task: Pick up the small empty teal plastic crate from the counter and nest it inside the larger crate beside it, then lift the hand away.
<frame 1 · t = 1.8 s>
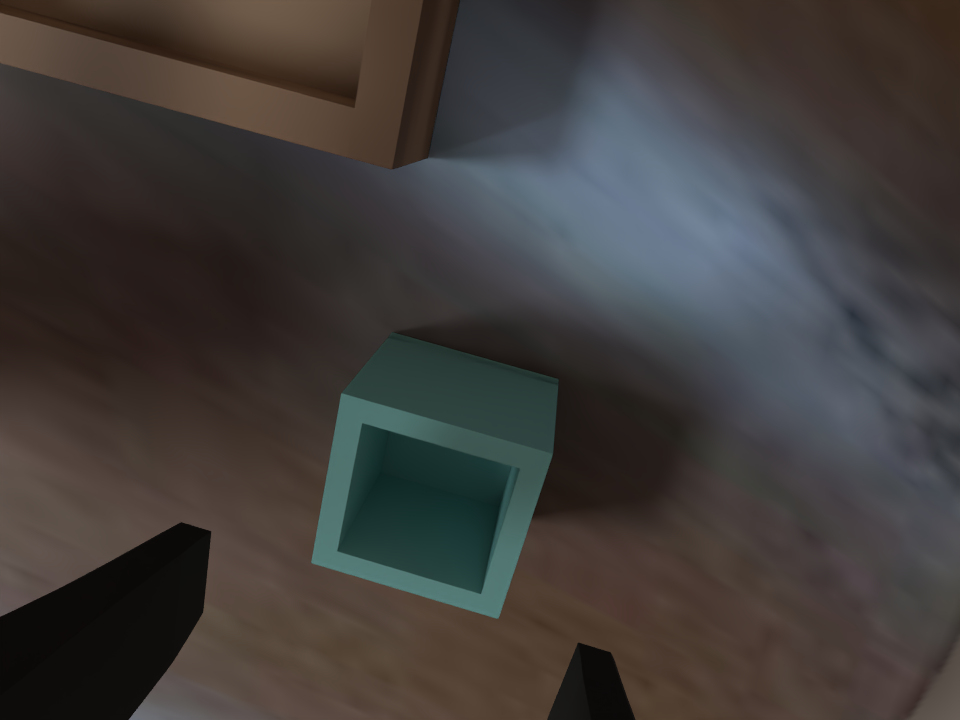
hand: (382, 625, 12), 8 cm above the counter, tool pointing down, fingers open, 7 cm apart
small crate: (456, 427, 20), on the counter
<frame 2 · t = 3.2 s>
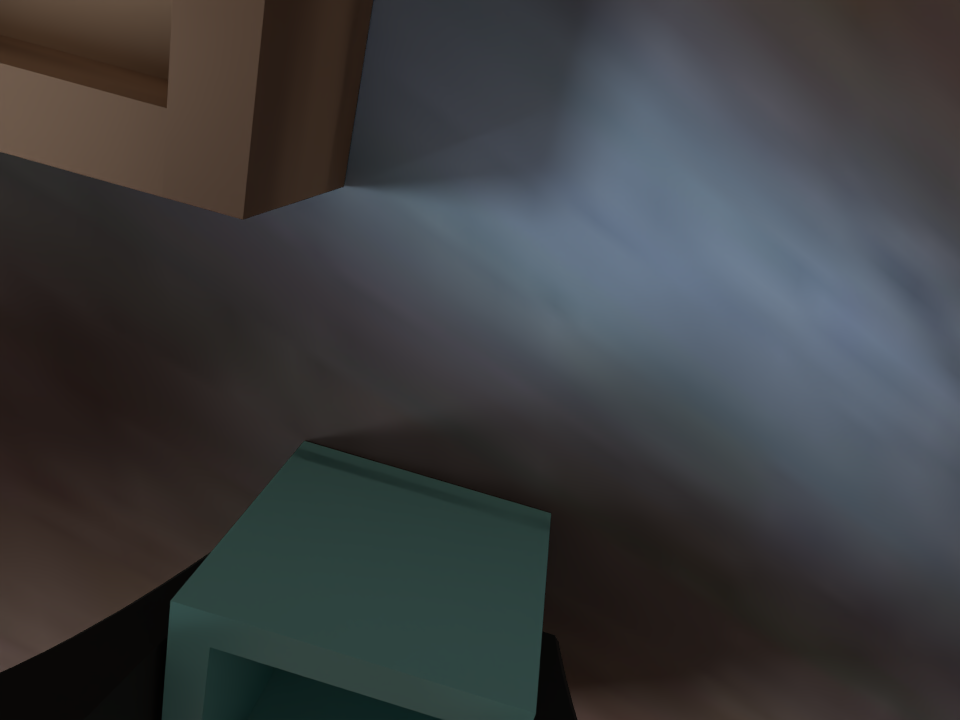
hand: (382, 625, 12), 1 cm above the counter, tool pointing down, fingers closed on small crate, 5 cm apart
small crate: (401, 575, 14), on the counter, touching gripper
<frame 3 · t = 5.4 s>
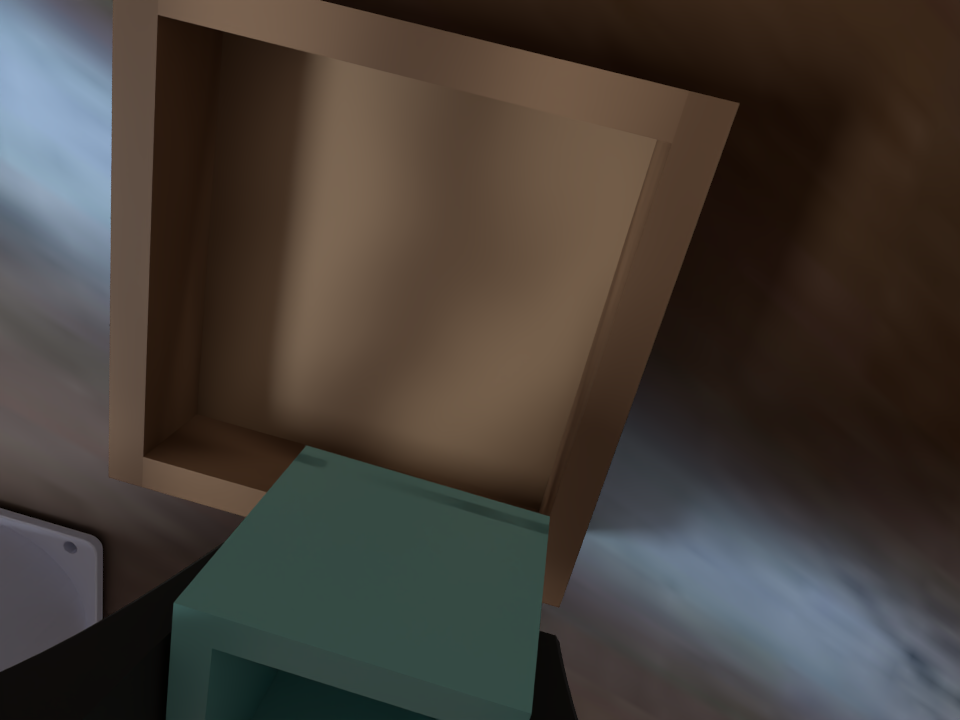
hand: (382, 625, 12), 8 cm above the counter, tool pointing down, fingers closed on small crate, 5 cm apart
big crate: (404, 286, 19), on the counter
small crate: (403, 578, 14), point 7 cm above the counter, touching gripper
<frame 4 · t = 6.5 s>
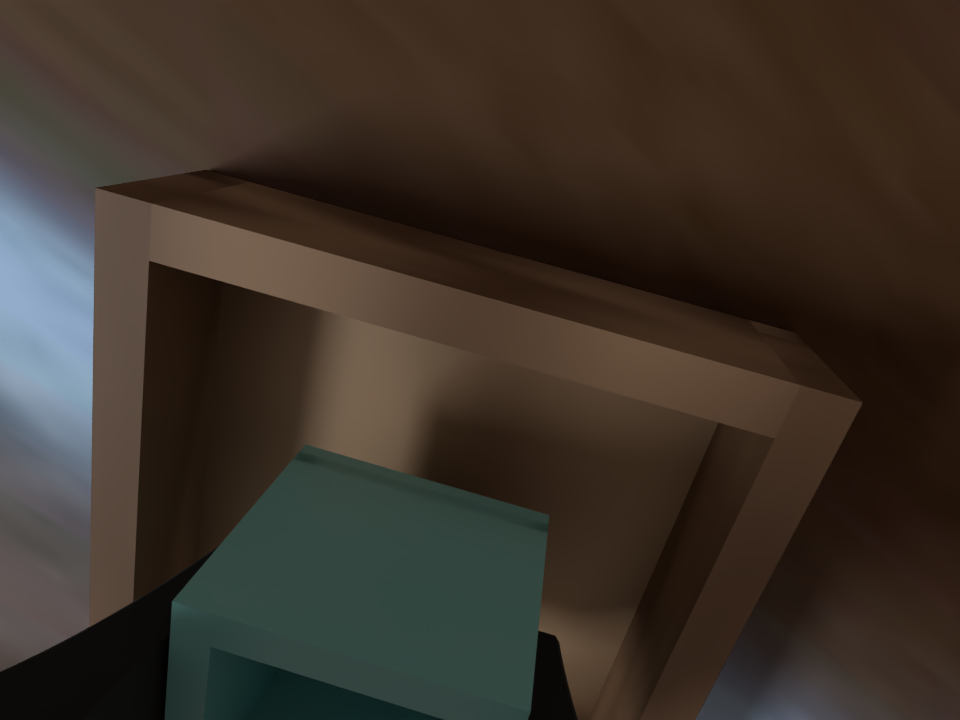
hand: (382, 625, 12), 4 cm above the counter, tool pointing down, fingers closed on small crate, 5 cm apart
big crate: (431, 498, 16), on the counter
small crate: (402, 577, 14), point 3 cm above the counter, touching gripper
when the fingers open (4 cm above the counter, at t = 7.5 s): small crate drops 2 cm, resting on big crate.
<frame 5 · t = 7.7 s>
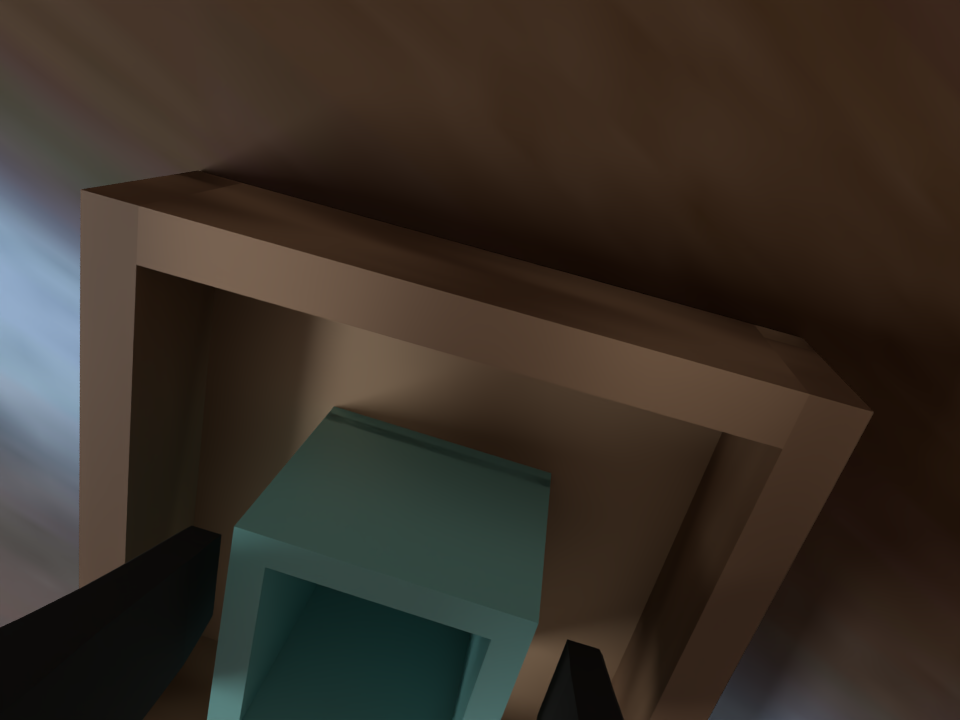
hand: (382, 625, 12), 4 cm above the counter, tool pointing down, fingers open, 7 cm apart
big crate: (428, 506, 16), on the counter
small crate: (417, 529, 15), point 1 cm above the counter, touching big crate
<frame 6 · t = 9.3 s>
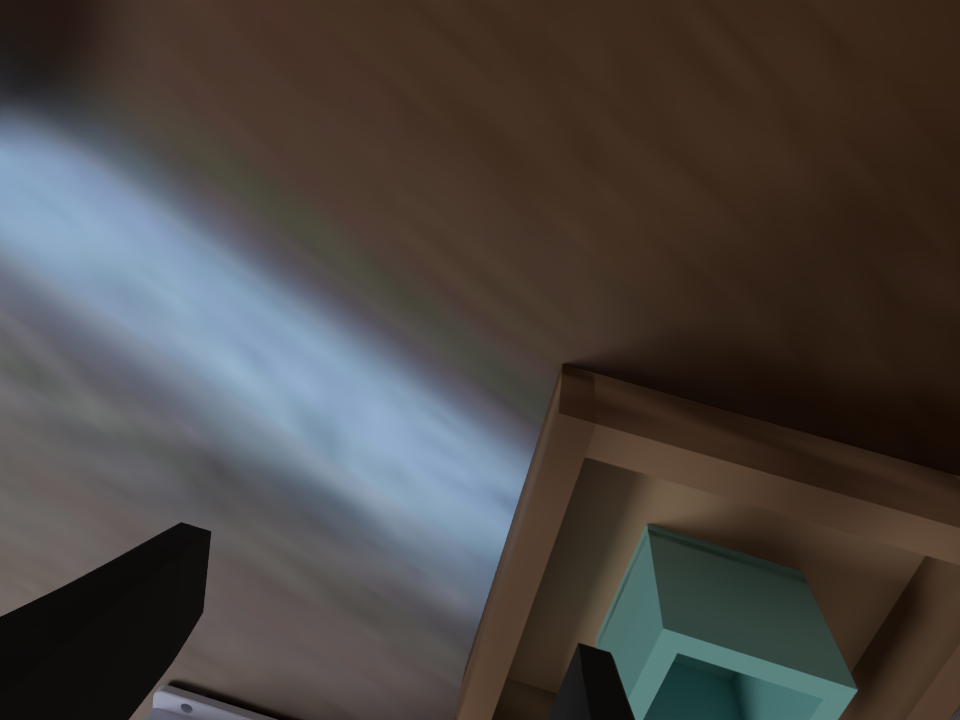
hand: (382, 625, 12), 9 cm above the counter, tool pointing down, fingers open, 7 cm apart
big crate: (693, 587, 22), on the counter
small crate: (693, 606, 21), point 1 cm above the counter, touching big crate
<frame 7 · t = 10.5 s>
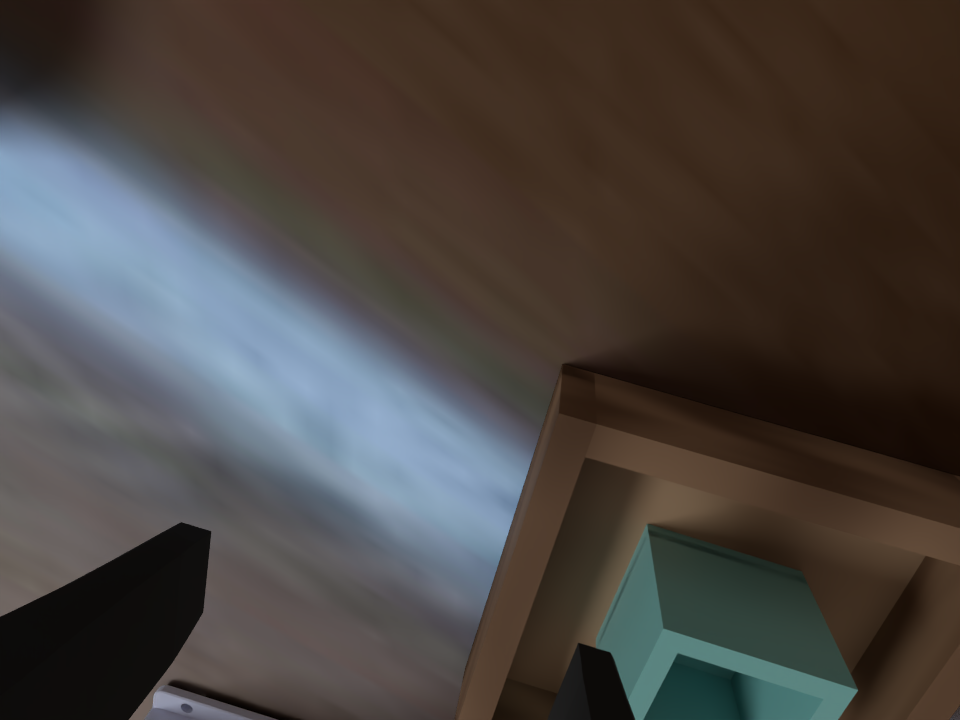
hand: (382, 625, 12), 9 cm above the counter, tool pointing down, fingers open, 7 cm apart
big crate: (693, 587, 22), on the counter
small crate: (693, 606, 21), point 1 cm above the counter, touching big crate
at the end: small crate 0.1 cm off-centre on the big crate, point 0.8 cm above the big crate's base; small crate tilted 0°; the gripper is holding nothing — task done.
